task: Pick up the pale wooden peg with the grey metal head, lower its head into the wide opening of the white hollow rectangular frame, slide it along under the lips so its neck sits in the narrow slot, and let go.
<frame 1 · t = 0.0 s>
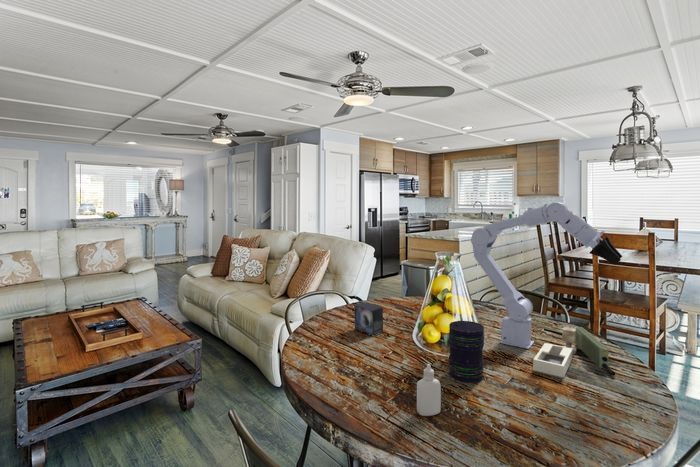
hand: (618, 260, 115), 32 cm above the table, tool tilted 50°, fingers open, 7 cm apart
small box: (368, 331, 150), on the table
handheld radio: (594, 360, 121), on the table
white hollow rectangular frame: (553, 364, 117), on the table
storage jar: (465, 376, 111), on the table
eye dropper bottle: (428, 413, 92), on the table
keyhole peg: (568, 351, 127), on the table
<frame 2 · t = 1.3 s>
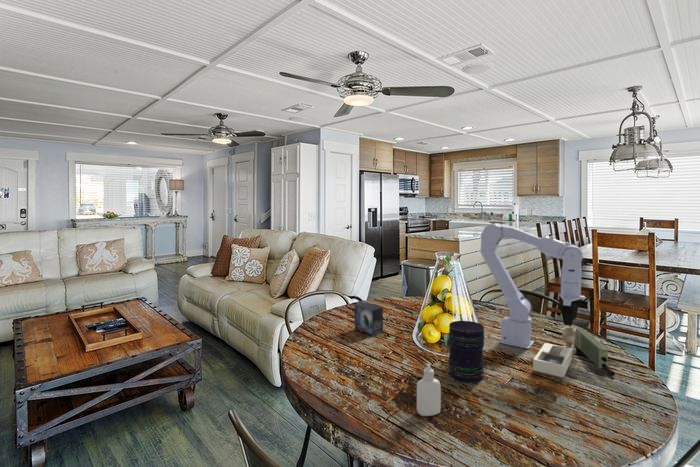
hand: (569, 322, 126), 10 cm above the table, tool pointing down, fingers open, 7 cm apart
nothing on the table moved.
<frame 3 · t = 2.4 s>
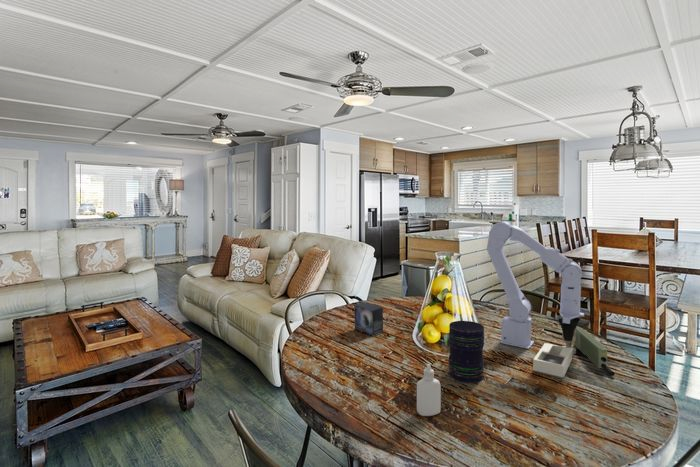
hand: (569, 338, 126), 4 cm above the table, tool pointing down, fingers closed on keyhole peg, 3 cm apart
keyhole peg: (568, 351, 127), on the table, touching gripper
everything else where it was.
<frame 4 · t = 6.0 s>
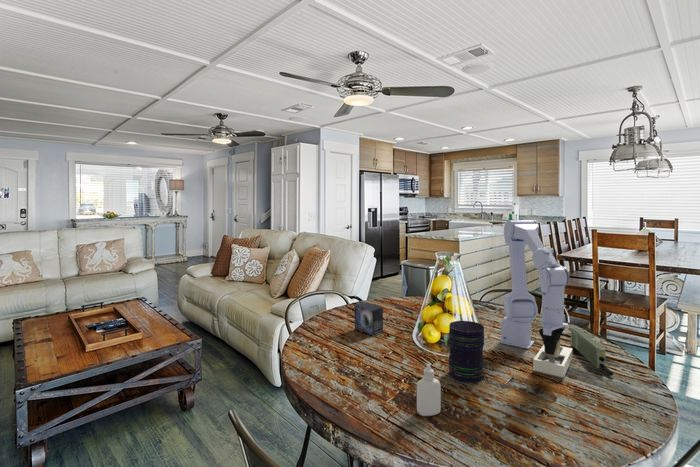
hand: (551, 351, 113), 6 cm above the table, tool pointing down, fingers closed on keyhole peg, 3 cm apart
keyhole peg: (551, 366, 113), point 1 cm above the table, touching gripper
when the fingers open (6 cm above the table, at t = 9.5 s): keyhole peg stays where it is, resting on white hollow rectangular frame.
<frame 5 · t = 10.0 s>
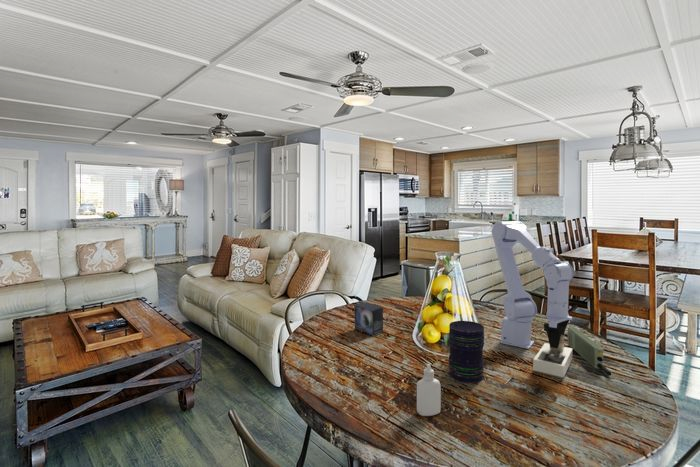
hand: (556, 343, 119), 6 cm above the table, tool pointing down, fingers open, 7 cm apart
keyhole peg: (556, 359, 120), resting on white hollow rectangular frame
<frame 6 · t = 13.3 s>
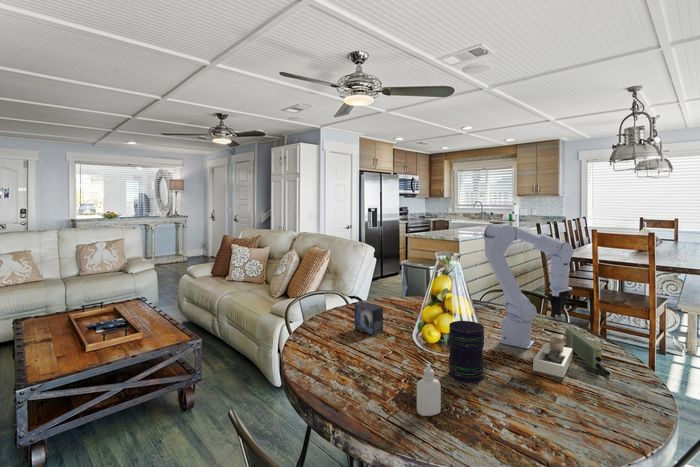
hand: (558, 311, 137), 10 cm above the table, tool pointing down, fingers open, 7 cm apart
at the end: keyhole peg 0.2 cm from the target spot on the white hollow rectangular frame, point 0.5 cm above the white hollow rectangular frame's base; keyhole peg tilted 2°; the gripper is holding nothing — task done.
